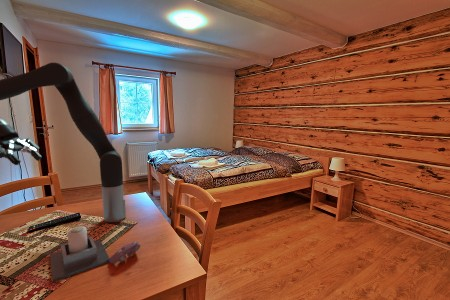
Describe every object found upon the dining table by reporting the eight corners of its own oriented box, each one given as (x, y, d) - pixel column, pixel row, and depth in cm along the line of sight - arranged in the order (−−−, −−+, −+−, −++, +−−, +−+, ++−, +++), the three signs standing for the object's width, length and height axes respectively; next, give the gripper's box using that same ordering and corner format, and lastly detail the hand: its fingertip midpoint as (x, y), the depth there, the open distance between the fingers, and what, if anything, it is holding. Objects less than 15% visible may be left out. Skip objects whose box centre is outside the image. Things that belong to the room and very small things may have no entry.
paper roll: (87, 250, 83) (85, 224, 82) (89, 257, 79) (87, 230, 78) (69, 255, 80) (66, 228, 78) (70, 263, 76) (68, 235, 74)
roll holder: (100, 241, 91) (99, 230, 90) (110, 261, 79) (109, 248, 78) (50, 257, 81) (48, 244, 80) (52, 282, 69) (51, 267, 68)
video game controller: (114, 271, 76) (119, 257, 74) (107, 261, 78) (111, 247, 76) (138, 256, 85) (144, 243, 82) (131, 247, 87) (136, 234, 84)
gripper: (-18, 124, 78) (16, 158, 78) (22, 123, 92) (51, 151, 92) (-30, 139, 79) (4, 172, 80) (12, 135, 93) (40, 163, 94)
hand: (29, 161), depth 86 cm, fingers open, 8 cm apart
